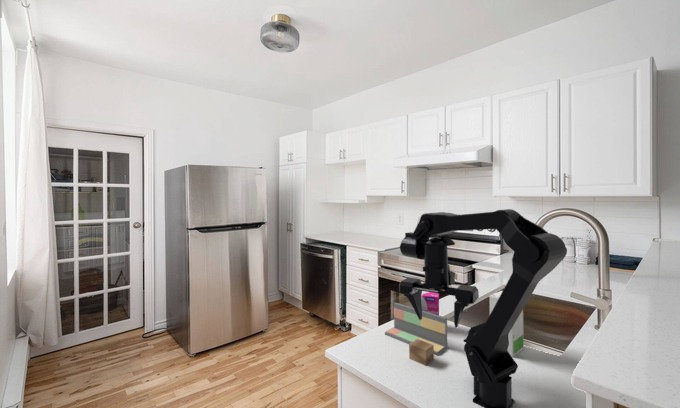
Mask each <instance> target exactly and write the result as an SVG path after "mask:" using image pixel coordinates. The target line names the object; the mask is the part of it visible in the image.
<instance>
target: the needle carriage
mask: <svg viewBox="0 0 680 408" xmlns="http://www.w3.org/2000/svg"><path fill="white" fill-rule="evenodd" d="M408 345H409V346H408V349H409V350H408V351H409V352H408V353H409V356H408V357H409V359H410V360H412V361H414V362H417V363H419V364H421V365H424V366H427V365H428V364H430V363H431V362H432V361H434V359H435V358H434V357H435V355H434V345H432V344H430V343H427V342H424V341H422V340H419V339H416V340H415V341H413V342H411V343H410V344H408Z"/></svg>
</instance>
